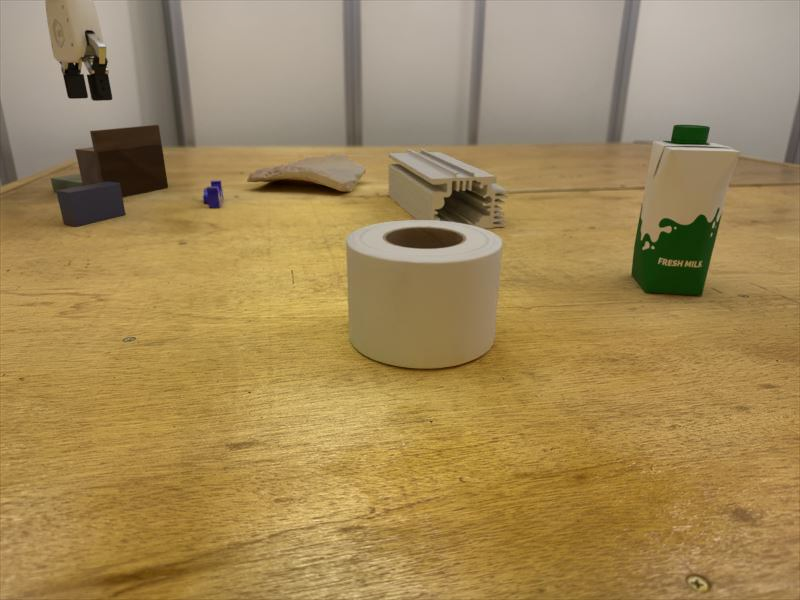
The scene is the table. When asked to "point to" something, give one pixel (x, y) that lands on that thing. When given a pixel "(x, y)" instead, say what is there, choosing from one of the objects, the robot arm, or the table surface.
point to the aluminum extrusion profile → (445, 189)
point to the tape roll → (423, 292)
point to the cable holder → (213, 194)
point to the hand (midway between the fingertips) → (90, 99)
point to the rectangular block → (91, 203)
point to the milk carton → (681, 211)
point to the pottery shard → (315, 172)
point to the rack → (120, 161)
